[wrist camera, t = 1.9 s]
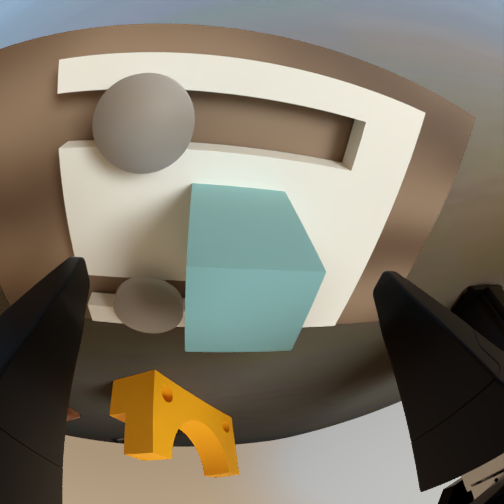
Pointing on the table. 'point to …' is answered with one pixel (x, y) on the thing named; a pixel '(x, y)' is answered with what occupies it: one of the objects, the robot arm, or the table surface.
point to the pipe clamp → (172, 422)
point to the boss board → (212, 125)
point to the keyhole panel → (315, 184)
